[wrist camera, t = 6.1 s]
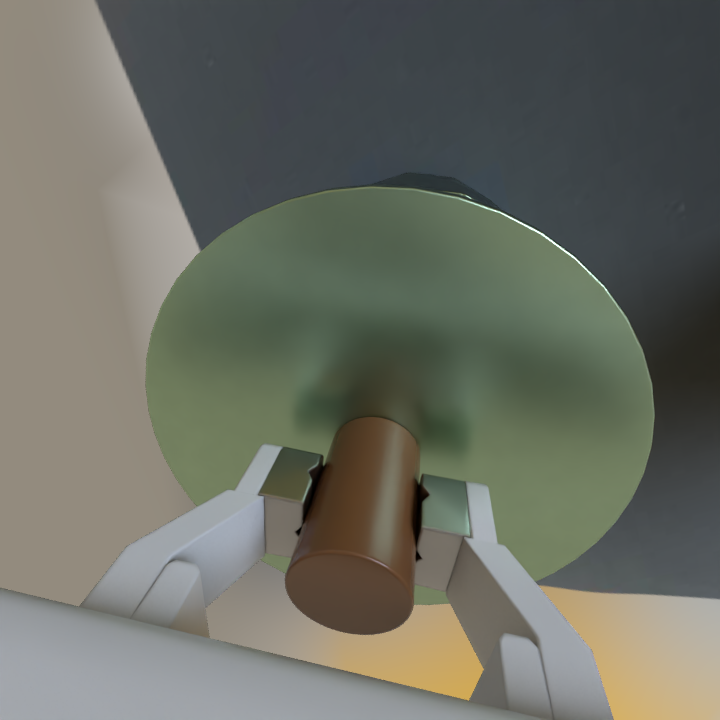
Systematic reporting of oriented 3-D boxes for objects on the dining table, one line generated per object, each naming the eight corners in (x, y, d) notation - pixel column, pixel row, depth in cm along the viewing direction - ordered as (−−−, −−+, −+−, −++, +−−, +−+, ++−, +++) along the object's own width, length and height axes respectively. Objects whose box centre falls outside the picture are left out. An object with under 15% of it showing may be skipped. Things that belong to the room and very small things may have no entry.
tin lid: (191, 533, 16) (94, 687, 11) (132, 150, 9) (-147, 150, 5) (541, 608, 14) (591, 817, 10) (747, 222, 8) (1143, 312, 4)
